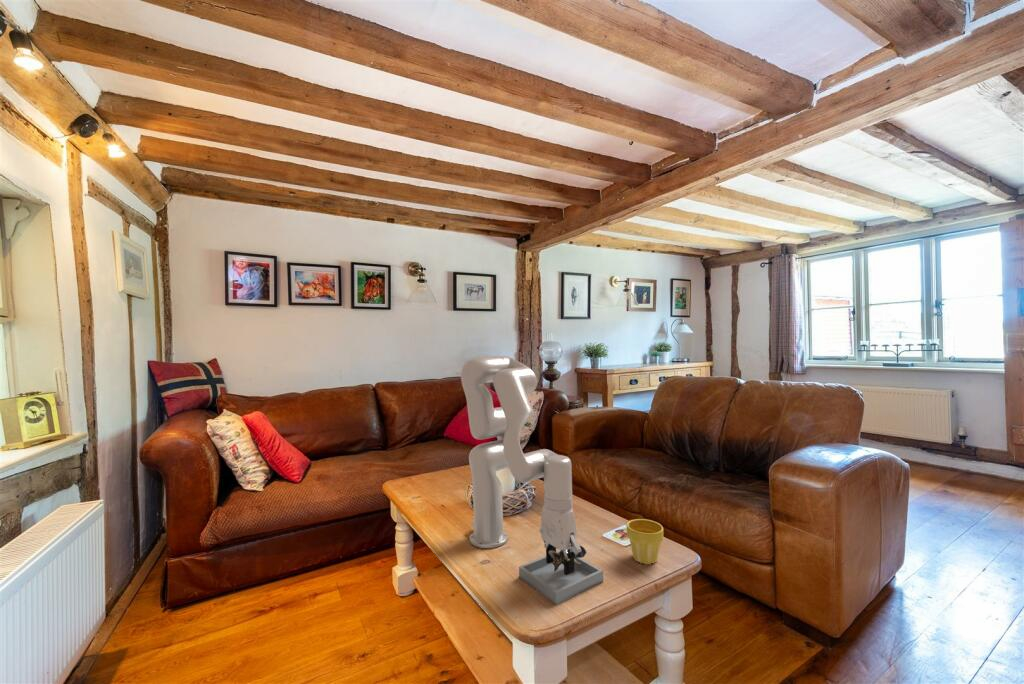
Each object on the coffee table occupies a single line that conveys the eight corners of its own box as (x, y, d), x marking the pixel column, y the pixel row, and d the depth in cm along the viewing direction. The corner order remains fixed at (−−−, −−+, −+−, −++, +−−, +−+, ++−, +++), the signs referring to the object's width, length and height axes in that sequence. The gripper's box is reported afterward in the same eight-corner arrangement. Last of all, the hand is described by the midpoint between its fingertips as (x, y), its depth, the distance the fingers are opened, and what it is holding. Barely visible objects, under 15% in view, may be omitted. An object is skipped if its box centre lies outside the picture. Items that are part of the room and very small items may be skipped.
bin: (519, 577, 120) (518, 566, 120) (564, 558, 130) (564, 548, 130) (556, 605, 107) (556, 593, 107) (603, 581, 117) (603, 570, 117)
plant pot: (656, 549, 134) (655, 517, 134) (669, 567, 123) (668, 532, 123) (623, 550, 133) (622, 519, 133) (633, 568, 123) (632, 534, 123)
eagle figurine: (567, 577, 113) (592, 560, 118) (554, 550, 116) (578, 534, 121) (554, 580, 119) (578, 564, 124) (541, 554, 121) (565, 539, 126)
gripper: (528, 496, 123) (529, 558, 124) (570, 516, 109) (571, 586, 109) (548, 490, 128) (550, 550, 128) (591, 508, 113) (593, 576, 114)
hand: (560, 566), depth 119 cm, fingers closed on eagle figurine, 6 cm apart
